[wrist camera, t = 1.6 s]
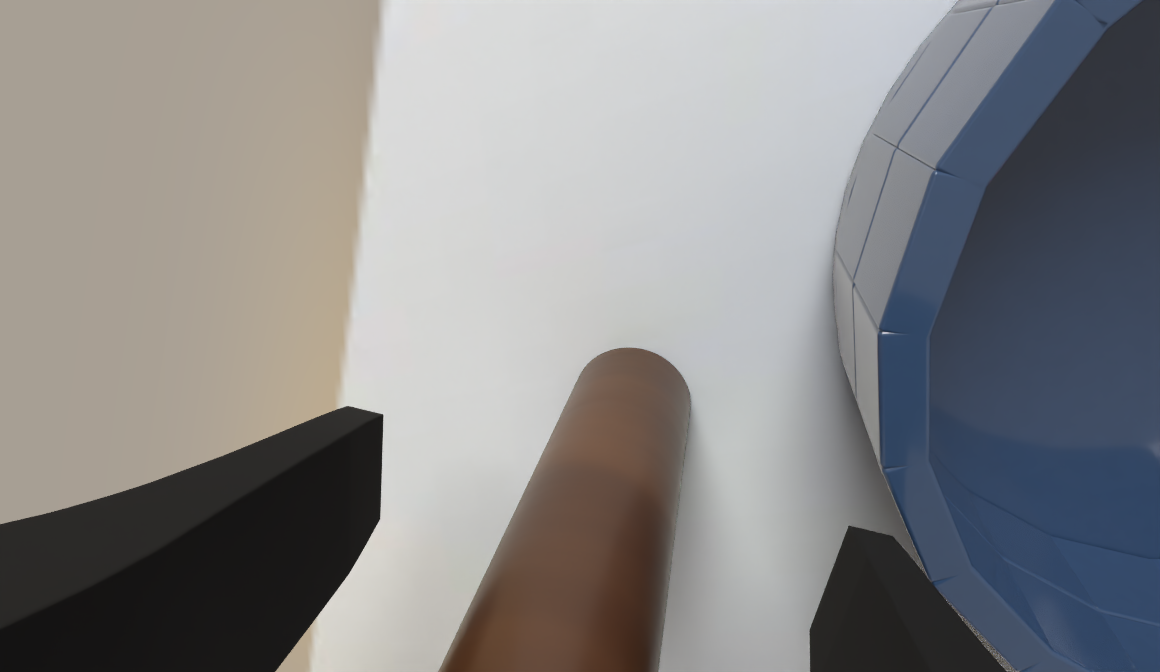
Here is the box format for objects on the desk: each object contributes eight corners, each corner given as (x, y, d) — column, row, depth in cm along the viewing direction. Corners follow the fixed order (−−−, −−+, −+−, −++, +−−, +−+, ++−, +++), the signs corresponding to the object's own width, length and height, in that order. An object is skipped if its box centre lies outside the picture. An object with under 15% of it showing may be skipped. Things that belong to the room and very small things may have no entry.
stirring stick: (677, 461, 15) (608, 973, 7) (568, 436, 15) (370, 894, 7) (701, 361, 14) (654, 813, 6) (583, 335, 14) (376, 728, 6)
